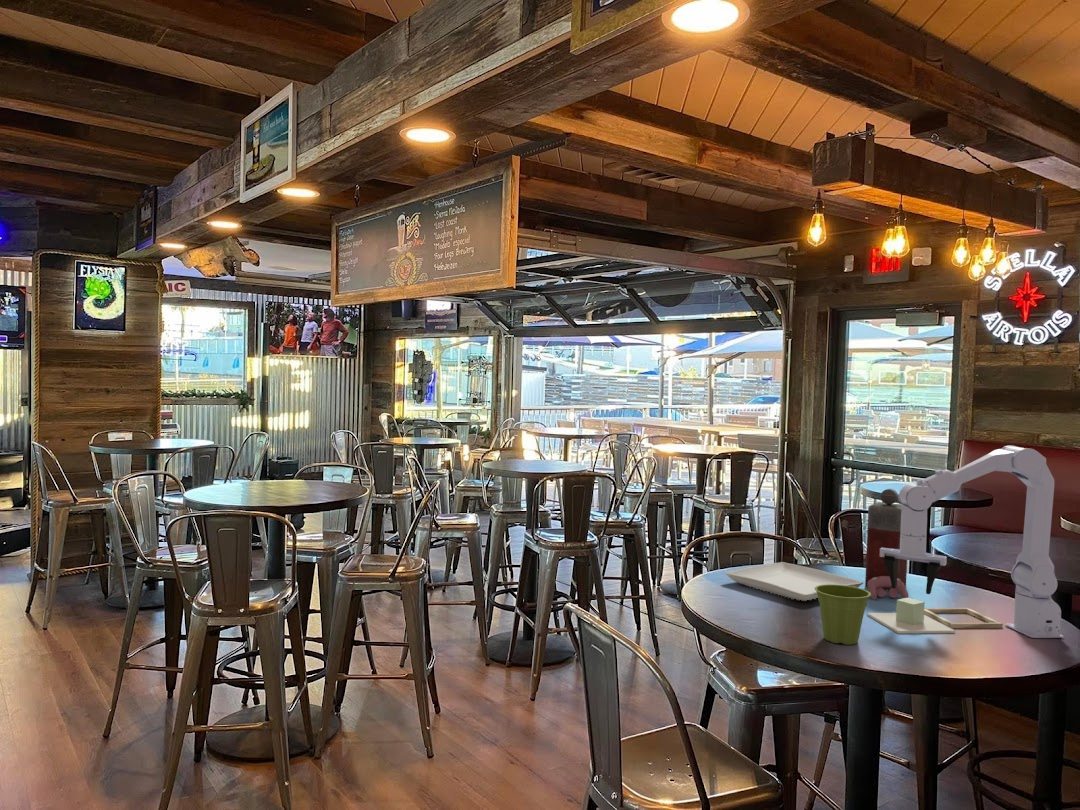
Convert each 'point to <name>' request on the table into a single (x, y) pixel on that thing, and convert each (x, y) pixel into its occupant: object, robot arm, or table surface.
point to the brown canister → (884, 536)
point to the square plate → (789, 579)
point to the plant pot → (842, 612)
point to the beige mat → (902, 628)
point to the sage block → (910, 611)
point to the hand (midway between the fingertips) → (911, 590)
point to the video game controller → (884, 581)
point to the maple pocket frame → (990, 624)
